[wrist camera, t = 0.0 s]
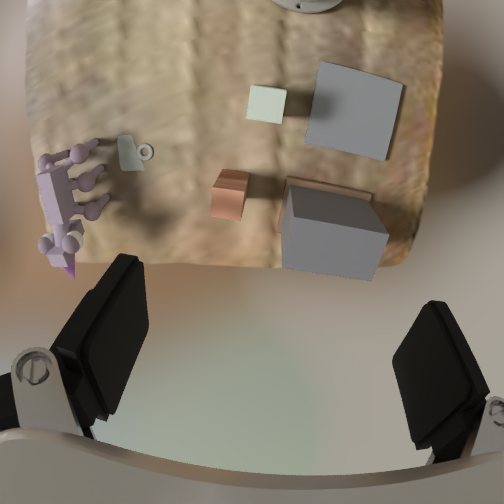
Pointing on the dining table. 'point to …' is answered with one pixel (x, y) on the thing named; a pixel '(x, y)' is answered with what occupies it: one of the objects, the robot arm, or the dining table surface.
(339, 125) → the mat
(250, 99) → the sage block
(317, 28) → the dining table surface
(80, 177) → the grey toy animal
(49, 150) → the dining table surface
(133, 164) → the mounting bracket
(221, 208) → the terracotta block
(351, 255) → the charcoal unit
